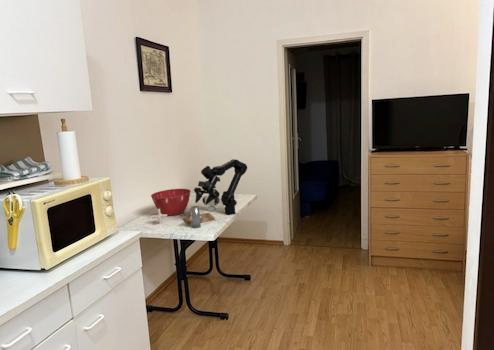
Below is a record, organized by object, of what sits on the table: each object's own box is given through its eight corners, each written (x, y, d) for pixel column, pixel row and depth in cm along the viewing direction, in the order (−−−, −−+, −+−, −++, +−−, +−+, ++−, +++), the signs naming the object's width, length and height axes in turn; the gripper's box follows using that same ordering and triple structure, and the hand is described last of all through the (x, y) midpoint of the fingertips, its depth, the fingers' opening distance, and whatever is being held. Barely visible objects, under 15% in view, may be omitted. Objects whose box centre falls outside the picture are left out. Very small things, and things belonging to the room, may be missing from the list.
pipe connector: (153, 222, 256) (152, 207, 254) (168, 220, 256) (167, 206, 255) (151, 226, 246) (149, 211, 244) (166, 225, 247) (165, 210, 245)
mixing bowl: (171, 220, 256) (169, 198, 253) (145, 216, 273) (142, 195, 271) (200, 210, 278) (198, 190, 275) (174, 206, 295) (172, 187, 293)
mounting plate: (209, 215, 262) (209, 212, 262) (214, 220, 249) (214, 216, 249) (184, 219, 256) (183, 216, 256) (188, 224, 243) (187, 221, 243)
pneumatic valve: (217, 211, 270) (216, 195, 268) (203, 211, 275) (201, 195, 273) (221, 209, 276) (219, 193, 274) (206, 209, 280) (205, 193, 278)
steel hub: (199, 225, 240) (197, 205, 238) (201, 227, 236) (199, 207, 234) (192, 226, 239) (190, 206, 237) (193, 228, 234) (191, 208, 232)
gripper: (194, 175, 247) (183, 195, 240) (215, 176, 235) (204, 197, 229) (204, 185, 254) (193, 204, 248) (224, 186, 243) (214, 207, 236)
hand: (200, 203), depth 240 cm, fingers open, 9 cm apart
